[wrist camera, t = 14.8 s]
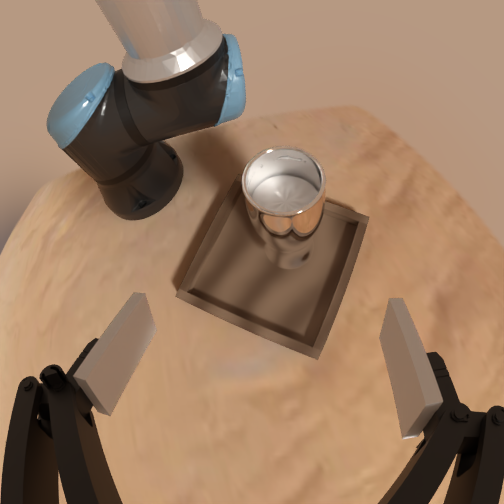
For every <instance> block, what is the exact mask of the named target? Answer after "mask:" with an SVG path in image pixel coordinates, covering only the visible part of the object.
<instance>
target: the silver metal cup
mask: <svg viewBox="0 0 504 504" xmlns="http://www.w3.org/2000/svg"><path fill="white" fill-rule="evenodd" d="M325 185H326V176H325V172H324V169H323V167H322V165H321V164H320V162H319V161H318V160H317V159H316V158H315V157H314V156H313V155H312V154H310V153H309V152H307V151H305V150H303V149H300V148H297V147H292V146H277V147H272V148H269V149H266V150H264V151H262V152H260V153H258V154H257V155H255V156H254V157H253V158H252V159H251V160H250V161H249V162H248V164H247V165H246V167H245V169H244V171H243V174H242V189H243V192H244V198H245V204H246V208H247V212H248V215H249V218H250V220H251V222H252V225H253V227H254V228H255V230H256V231H257V233H258V234H259V236H260V237H261V238H262V239H263V240H264V241H265V242H264V249H265V253H266V255H267V257H268V259H269V260H270V261H271V262H272V263H273V264H274V265H276V266H277V267H279V268H283V269H296V268H299V267H301V266H303V265H304V264H305V263H306V262H308V260H309V259H310V258H311V256H312V254H313V250H314V241H313V237H314V235H315V234H316V232H317V230H318V228H319V226H320V224H321V221H322V218H323V214H324V209H325Z"/></svg>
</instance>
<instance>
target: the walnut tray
mask: <svg viewBox="0 0 504 504" xmlns="http://www.w3.org/2000/svg"><path fill="white" fill-rule="evenodd" d="M368 220H369V217H368V216H365V215H363V214H360V213H357V212H354V211H352V210H349V209H346V208H343V207H341V206H338V205H335V204H332V203H329V202H326V201H325V209H324V214H323V218H322V221H321V224H320V226H319V228H318V230H317V232H316V234H315V235H314V237H313V241H314V250H313V254H312V256H311V258H310V259H309V260H308V262H306V263H305V264H304V265H303V266H301V267H299V268H296V269H283V268H279V267H277V266H276V265H274V264H273V263H272V262H271V261H270V260H269V259H268V257H267V255H266V253H265V249H264V242H265V241H264V240H263V239H262V238H261V237H260V236H259V234H258V233H257V231H256V230H255V228H254V227H253V225H252V222H251V220H250V218H249V215H248V212H247V208H246V204H245V198H244V192H243V189H242V175H241V174H238V175H237V177H236V179H235V181H234V183H233V185H232V186H231V188H230V190H229V192H228V194H227V196H226V198H225V199H224V201H223V203H222V205H221V207H220V209H219V211H218V213H217V214H216V216H215V218H214V220H213V222H212V224H211V226H210V228H209V230H208V232H207V234H206V236H205V237H204V239H203V241H202V243H201V245H200V247H199V249H198V251H197V253H196V255H195V257H194V259H193V261H192V263H191V265H190V267H189V269H188V271H187V273H186V275H185V277H184V279H183V281H182V283H181V286H180V288H179V290H178V292H177V294H176V296H175V297H177V298H179V299H181V300H183V301H185V302H187V303H189V304H191V305H193V306H195V307H198V308H200V309H202V310H204V311H206V312H208V313H210V314H212V315H214V316H216V317H219V318H221V319H223V320H225V321H227V322H229V323H232V324H234V325H236V326H238V327H240V328H243V329H245V330H247V331H249V332H252V333H254V334H256V335H259V336H261V337H263V338H265V339H268V340H270V341H273V342H275V343H277V344H280V345H282V346H285V347H287V348H289V349H292V350H294V351H297V352H299V353H302V354H304V355H307V356H309V357H312V358H315V359H317V360H318V359H319V356H320V354H321V352H322V349H323V347H324V345H325V342H326V340H327V337H328V335H329V332H330V330H331V327H332V325H333V322H334V320H335V317H336V315H337V312H338V310H339V307H340V304H341V302H342V299H343V296H344V294H345V291H346V288H347V285H348V282H349V280H350V277H351V274H352V271H353V268H354V265H355V262H356V259H357V256H358V253H359V250H360V247H361V244H362V240H363V237H364V234H365V231H366V227H367V224H368Z"/></svg>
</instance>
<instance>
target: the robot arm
mask: <svg viewBox="0 0 504 504" xmlns="http://www.w3.org/2000/svg"><path fill="white" fill-rule="evenodd" d="M96 2H97V3H98V5H99V7H100V9H101V10H102V12H103V13H104V15H105V17H106V18H107V20H108V21H109V23H110V25H111V26H112V28H113V30H114V32H115V33H116V35H117V36H118V38H119V40H120V41H121V43H122V45H123V46H124V48H125V49H126V51H127V52H126V55H125V57H124V59H123V62H122V69H120V70H118V71H115V70H114V67H113V66H111V65H110V64H108V63H99V64H97V65H94V66H92V67H90V68H89V69H87V70H86V71H84V72H83V73H81V74H80V75H79V76H78V77H76V78H75V79H74V80H73V81H72V82H71V83H70V84H69V85H68V86H67V87H66V88H65V89H64V90H63V92H62V93H61V94H60V95H59V97H58V98H57V100H56V101H55V103H54V104H53V106H52V108H51V110H50V112H49V115H48V118H47V129H48V132H49V134H50V135H51V136H52V138H53V139H54V140H55V141H56V142H57V144H58V146H59V148H61V149H62V150H63V151H64V152H65V153H66V154H67V155H68V156H69V157H70V158H71V159H73V160H74V161H75V162H76V163H77V164H78V165H79V166H80V167H81V168H82V169H83V170H84V171H85V172H86V173H87V174H88V175H89V176H91V177H92V178H93V179H94V180H95V181H96V182H97V184H98V186H99V189H100V191H101V194H102V196H103V198H104V201H105V203H106V205H107V206H108V207H109V209H110V210H112V211H113V212H114V213H115V214H116V215H117V216H119V217H121V218H123V219H126V220H140V219H144V218H147V217H149V216H151V215H153V214H155V213H157V212H158V211H160V210H161V209H162V208H164V207H165V206H166V205H167V204H168V203H169V202H170V201H171V200H172V198H173V197H174V196H175V194H176V193H177V191H178V189H179V187H180V184H181V181H182V178H183V165H182V162H181V160H180V158H179V156H178V155H177V153H176V151H175V150H174V149H173V148H172V147H171V146H170V145H168V144H167V143H165V142H164V141H162V140H166V139H169V138H172V137H176V136H179V135H183V134H186V133H190V132H194V131H197V130H201V129H205V128H209V127H213V126H214V127H215V126H218V125H219V124H221V123H224V122H227V121H230V120H234V119H236V118H238V117H239V116H241V115H242V113H243V111H244V109H245V103H246V93H245V79H244V74H243V67H242V58H241V53H240V49H239V45H238V42H237V39H236V37H235V36H234V35H232V34H222V31H221V28H220V27H219V26H218V25H217V24H216V23H214V22H213V21H210V20H207V19H203V17H202V14H201V11H200V9H199V5H198V2H197V0H96ZM156 331H157V329H156V326H155V323H154V320H153V317H152V314H151V311H150V307H149V304H148V301H147V298H146V294H145V293H133V294H132V296H131V297H130V298H129V300H128V301H127V302H126V303H125V305H124V306H123V307H122V309H121V310H120V311H119V313H118V314H117V315H116V317H115V318H114V319H113V321H112V322H111V323H110V325H109V326H108V327H107V329H106V330H105V331H104V333H103V334H102V336H101V337H100V338H99V339H97V338H95V339H94V340H92V341H91V342H90V343H88V344H87V346H86V347H85V348H84V350H83V352H82V353H81V354H80V355H79V358H77V360H76V361H75V362H74V364H73V365H72V367H71V368H70V369H69V371H68V372H67V374H66V375H65V373H64V372H63V370H62V368H61V367H60V366H58V365H55V364H54V365H49V366H47V367H46V368H44V369H43V370H42V372H41V373H40V377H39V378H40V380H41V381H42V382H43V383H39V382H38V380H37V379H36V378H35V377H33V376H29V377H26V378H24V379H23V380H22V381H21V382H20V384H19V387H18V390H17V394H16V398H15V402H14V406H13V411H12V415H11V420H10V425H9V430H8V435H7V441H6V447H5V454H4V462H3V472H2V483H1V504H59V490H58V470H59V474H60V478H61V483H62V487H63V491H64V494H65V498H66V501H67V504H123V503H122V501H121V499H120V496H119V494H118V491H117V489H116V486H115V484H114V481H113V478H112V476H111V473H110V470H109V467H108V464H107V461H106V458H105V455H104V452H103V449H102V445H101V442H100V439H99V435H98V432H97V428H96V424H95V420H94V416H93V413H92V411H91V408H92V406H94V407H95V408H96V410H97V411H98V412H100V413H103V414H106V415H109V416H111V414H112V412H113V410H114V408H115V406H116V404H117V402H118V400H119V398H120V397H121V395H122V393H123V391H124V389H125V387H126V385H127V383H128V382H129V380H130V378H131V376H132V374H133V372H134V370H135V369H136V367H137V365H138V363H139V361H140V359H141V358H142V356H143V354H144V352H145V350H146V349H147V347H148V345H149V343H150V342H151V340H152V338H153V336H154V334H155V333H156ZM379 339H380V342H381V346H382V350H383V353H384V357H385V361H386V365H387V369H388V373H389V377H390V381H391V386H392V390H393V394H394V399H395V404H396V408H397V413H398V418H399V424H400V429H401V434H402V439H407V438H413V437H418V436H419V435H420V433H421V432H422V431H423V432H424V439H423V440H422V441H421V442H420V443H419V445H418V446H417V447H416V448H417V450H416V451H415V453H414V454H413V456H412V458H411V459H410V461H409V462H408V464H407V465H406V467H405V468H404V470H403V471H402V472H401V474H400V475H399V477H398V478H397V479H396V481H395V482H394V484H393V485H392V486H391V488H390V489H389V490H388V491H387V493H386V494H385V495H384V497H383V498H382V499H381V500H380V502H379V503H378V504H428V503H429V502H430V500H431V499H432V497H433V496H434V494H435V492H436V491H437V489H438V487H439V486H440V484H441V482H442V480H443V479H444V477H445V475H446V473H447V471H448V469H449V468H450V466H451V464H452V462H453V460H454V458H455V456H456V454H457V458H456V462H455V466H454V470H453V474H452V478H451V481H450V485H449V488H448V491H447V494H446V497H445V500H444V503H443V504H498V503H499V499H500V495H501V490H502V485H503V479H504V407H501V406H493V407H491V408H490V409H489V411H488V412H487V413H485V412H473V411H470V409H469V408H468V407H467V406H466V405H465V404H463V403H460V401H459V399H458V396H457V393H456V391H455V388H454V385H453V383H452V380H451V378H450V377H449V372H448V370H447V369H446V365H445V363H444V360H443V359H442V358H441V356H440V355H439V354H438V353H437V352H430V353H426V352H425V349H424V347H423V344H422V342H421V339H420V337H419V334H418V332H417V330H416V327H415V325H414V323H413V320H412V318H411V316H410V314H409V311H408V309H407V307H406V305H405V303H404V300H403V298H389V301H388V305H387V310H386V314H385V318H384V322H383V326H382V330H381V333H380V337H379ZM38 415H39V416H38ZM37 416H38V419H37Z"/></svg>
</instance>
